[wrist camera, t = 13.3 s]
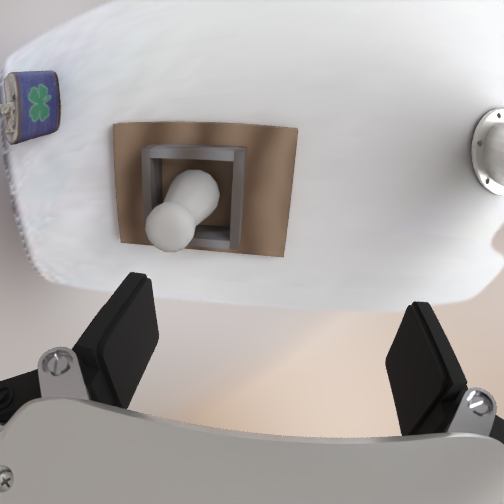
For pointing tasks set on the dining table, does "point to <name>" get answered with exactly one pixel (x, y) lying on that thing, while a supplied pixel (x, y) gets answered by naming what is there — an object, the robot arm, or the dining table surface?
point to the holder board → (222, 171)
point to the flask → (31, 105)
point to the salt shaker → (182, 210)
